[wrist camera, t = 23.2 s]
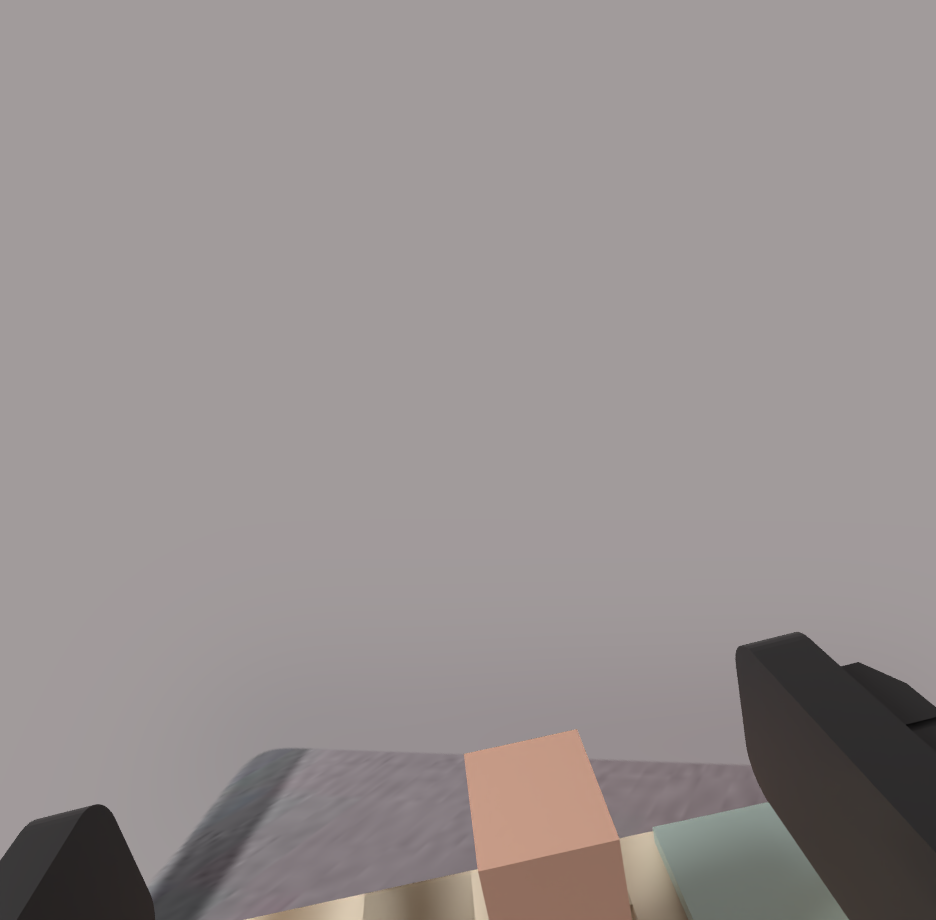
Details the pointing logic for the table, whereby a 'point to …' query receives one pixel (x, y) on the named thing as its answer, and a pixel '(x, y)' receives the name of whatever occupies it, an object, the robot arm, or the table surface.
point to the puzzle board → (462, 902)
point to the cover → (742, 868)
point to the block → (544, 833)
